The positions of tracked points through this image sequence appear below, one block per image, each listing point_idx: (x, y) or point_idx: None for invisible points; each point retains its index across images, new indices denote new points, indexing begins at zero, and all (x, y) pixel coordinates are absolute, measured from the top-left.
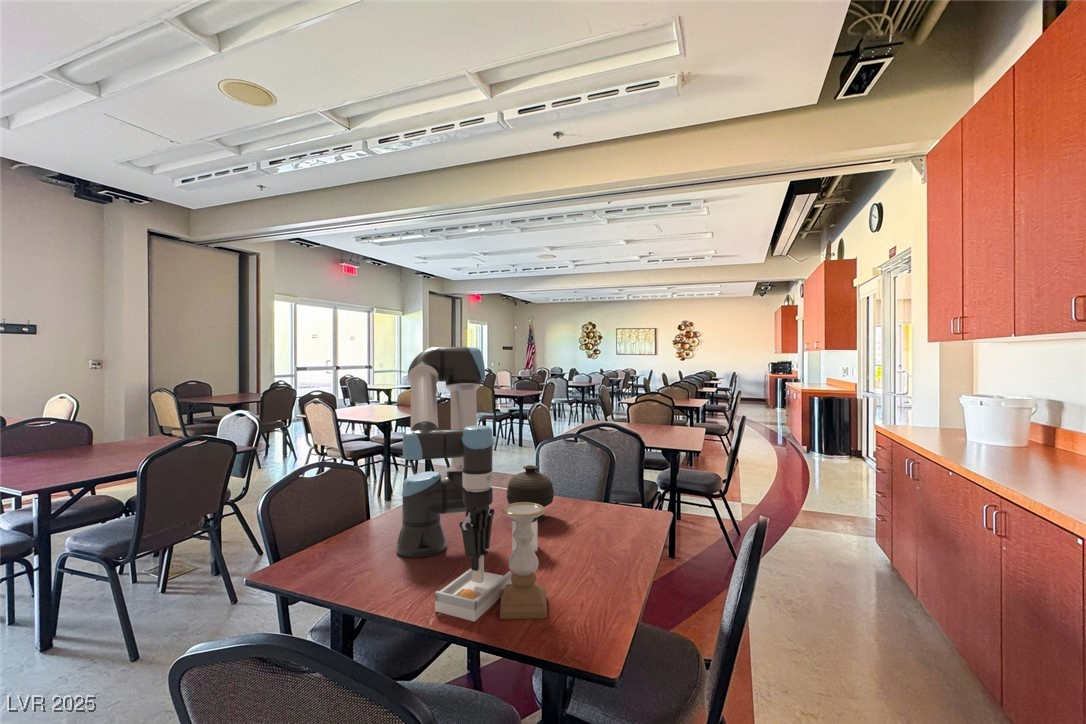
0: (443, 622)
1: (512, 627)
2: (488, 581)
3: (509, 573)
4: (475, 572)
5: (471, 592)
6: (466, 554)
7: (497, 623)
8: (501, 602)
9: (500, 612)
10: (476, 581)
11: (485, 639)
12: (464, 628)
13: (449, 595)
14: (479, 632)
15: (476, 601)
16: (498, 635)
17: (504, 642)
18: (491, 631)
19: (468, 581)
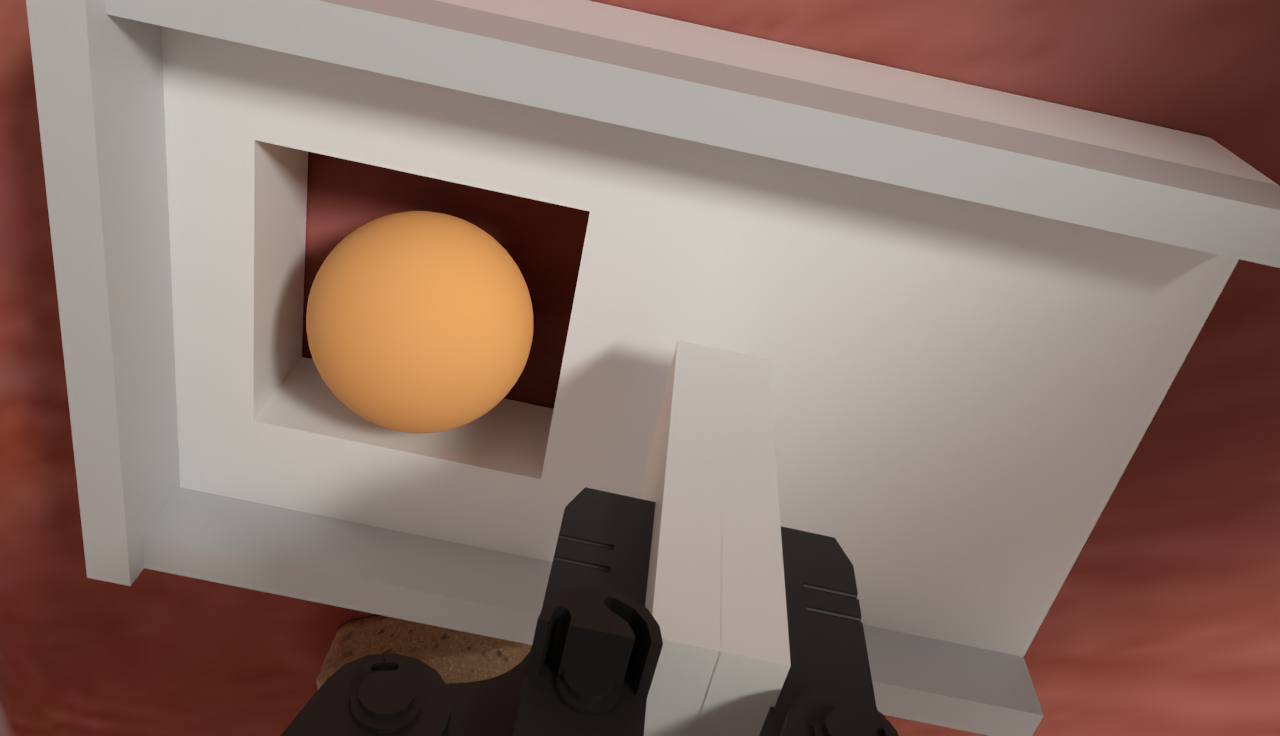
0: (29, 136)
1: (262, 722)
2: (867, 470)
3: (972, 731)
4: (651, 490)
5: (385, 424)
6: (302, 730)
7: (265, 618)
8: (461, 665)
9: (321, 670)
10: (656, 423)
11: (10, 588)
12: (53, 386)
13: (56, 231)
14: (69, 523)
15: (131, 578)
16: (111, 658)
17: (54, 708)
18: (133, 602)
19: (829, 209)
